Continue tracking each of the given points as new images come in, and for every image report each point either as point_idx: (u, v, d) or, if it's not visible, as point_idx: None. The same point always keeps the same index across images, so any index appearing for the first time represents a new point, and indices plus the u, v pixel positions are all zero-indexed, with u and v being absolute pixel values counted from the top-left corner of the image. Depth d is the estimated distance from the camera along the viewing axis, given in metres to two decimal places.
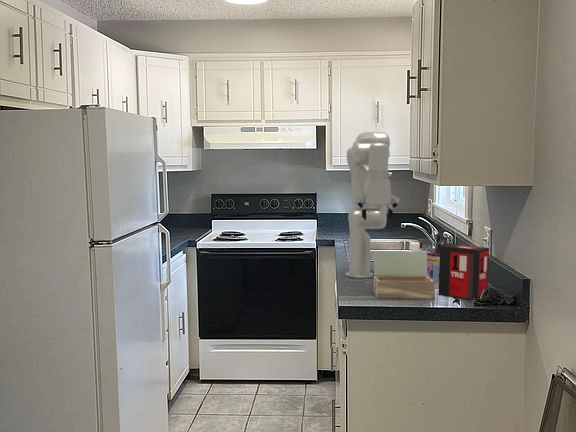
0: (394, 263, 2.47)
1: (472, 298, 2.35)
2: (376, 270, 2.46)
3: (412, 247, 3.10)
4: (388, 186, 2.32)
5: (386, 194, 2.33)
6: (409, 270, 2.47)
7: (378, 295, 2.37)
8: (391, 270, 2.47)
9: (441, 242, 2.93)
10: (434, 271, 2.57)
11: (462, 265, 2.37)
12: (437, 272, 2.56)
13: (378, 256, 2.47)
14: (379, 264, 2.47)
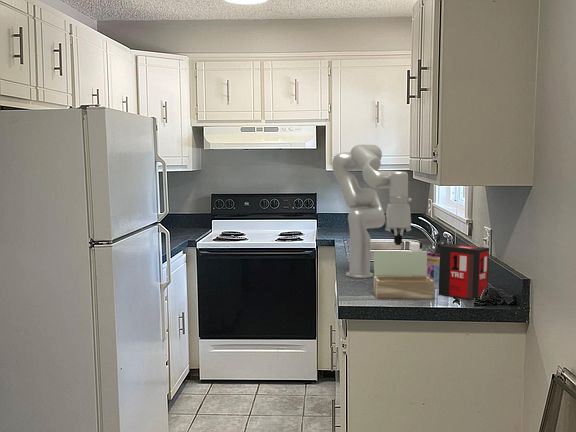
0: (394, 263, 2.47)
1: (472, 298, 2.35)
2: (376, 270, 2.46)
3: (412, 247, 3.10)
4: (408, 211, 2.51)
5: (406, 218, 2.51)
6: (409, 270, 2.47)
7: (378, 295, 2.37)
8: (391, 270, 2.47)
9: (441, 242, 2.93)
10: (435, 271, 2.57)
11: (462, 265, 2.37)
12: (438, 272, 2.56)
13: (378, 256, 2.47)
14: (379, 264, 2.47)
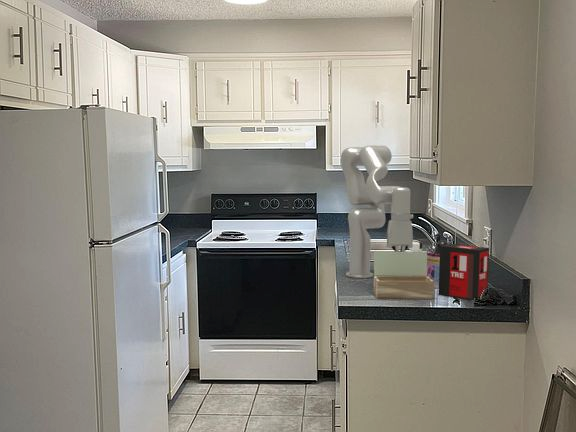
0: (394, 263, 2.47)
1: (472, 298, 2.35)
2: (376, 270, 2.46)
3: (412, 247, 3.10)
4: (410, 228, 2.46)
5: (408, 235, 2.47)
6: (409, 270, 2.47)
7: (378, 295, 2.37)
8: (391, 270, 2.47)
9: (441, 242, 2.93)
10: (435, 271, 2.56)
11: (462, 265, 2.37)
12: (438, 272, 2.55)
13: (378, 256, 2.47)
14: (379, 264, 2.47)
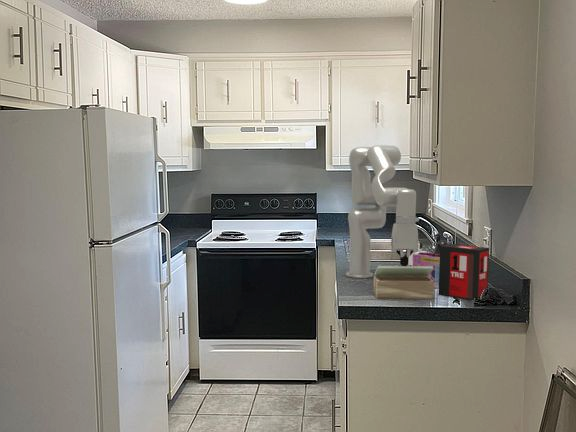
0: (396, 272, 2.42)
1: (472, 298, 2.35)
2: (377, 274, 2.44)
3: None
4: (415, 231, 2.37)
5: (413, 239, 2.37)
6: (411, 274, 2.44)
7: (378, 295, 2.37)
8: (392, 274, 2.44)
9: (441, 242, 2.93)
10: (436, 271, 2.56)
11: (462, 265, 2.37)
12: None
13: (381, 269, 2.39)
14: (381, 272, 2.42)
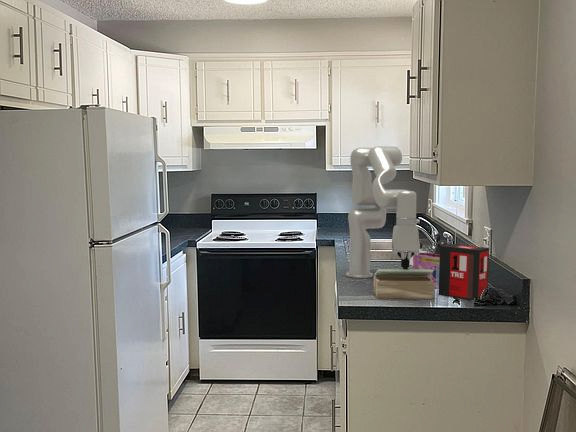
0: (396, 273, 2.41)
1: (472, 298, 2.35)
2: (377, 275, 2.44)
3: None
4: (416, 233, 2.35)
5: (414, 241, 2.35)
6: (411, 275, 2.44)
7: (378, 295, 2.37)
8: (392, 275, 2.44)
9: (441, 242, 2.93)
10: (437, 271, 2.56)
11: (462, 265, 2.37)
12: None
13: (381, 272, 2.39)
14: (381, 273, 2.42)
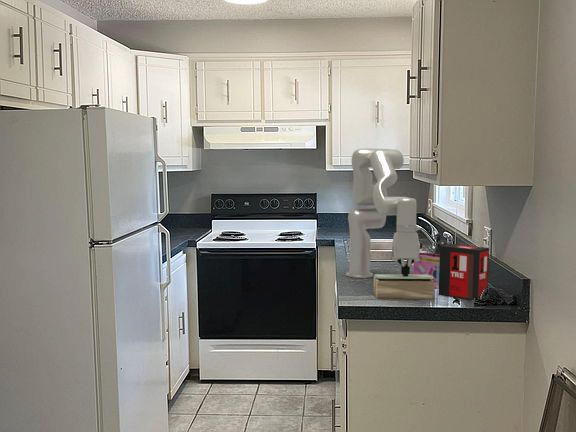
0: None
1: (472, 298, 2.35)
2: None
3: None
4: (416, 240, 2.35)
5: (414, 248, 2.35)
6: None
7: (378, 295, 2.37)
8: None
9: (441, 242, 2.93)
10: (437, 272, 2.56)
11: (462, 265, 2.37)
12: None
13: None
14: None
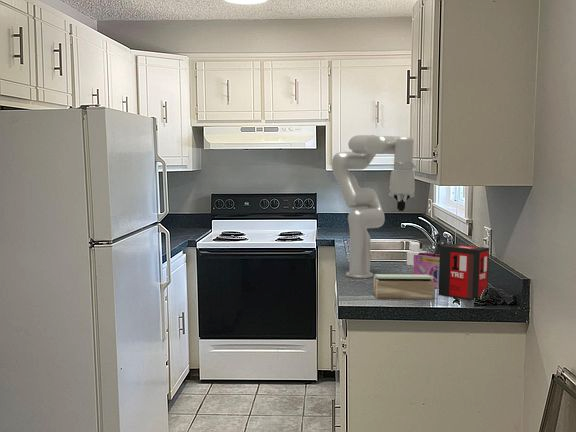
0: None
1: (472, 298, 2.35)
2: None
3: (412, 247, 3.10)
4: (412, 177, 2.50)
5: (410, 184, 2.50)
6: None
7: (378, 295, 2.37)
8: None
9: (441, 242, 2.93)
10: (438, 272, 2.56)
11: (462, 265, 2.37)
12: None
13: None
14: None
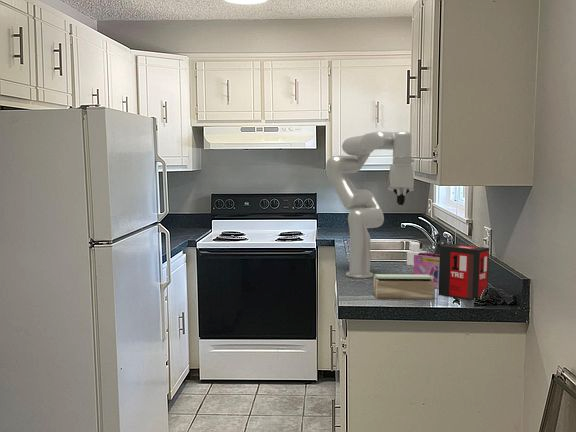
0: None
1: (472, 298, 2.35)
2: None
3: (412, 247, 3.10)
4: (411, 171, 2.54)
5: (409, 178, 2.54)
6: None
7: (378, 295, 2.37)
8: None
9: (441, 242, 2.93)
10: None
11: (462, 265, 2.37)
12: None
13: None
14: None
